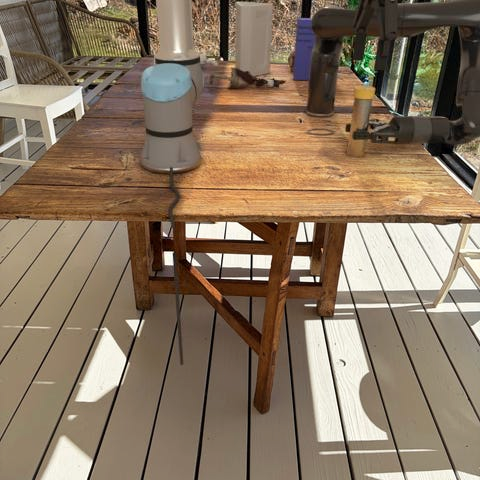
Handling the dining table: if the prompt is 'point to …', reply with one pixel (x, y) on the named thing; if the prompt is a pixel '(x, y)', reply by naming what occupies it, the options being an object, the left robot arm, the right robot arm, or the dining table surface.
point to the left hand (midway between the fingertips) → (368, 64)
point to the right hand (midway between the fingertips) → (349, 131)
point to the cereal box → (303, 49)
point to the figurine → (246, 79)
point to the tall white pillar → (253, 37)
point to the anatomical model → (291, 60)
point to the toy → (201, 60)
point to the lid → (364, 92)
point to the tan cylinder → (359, 125)
